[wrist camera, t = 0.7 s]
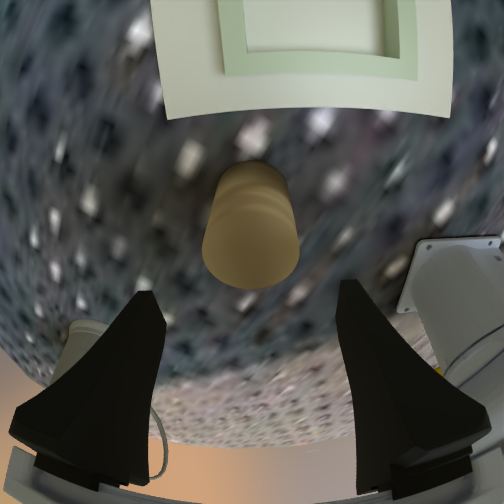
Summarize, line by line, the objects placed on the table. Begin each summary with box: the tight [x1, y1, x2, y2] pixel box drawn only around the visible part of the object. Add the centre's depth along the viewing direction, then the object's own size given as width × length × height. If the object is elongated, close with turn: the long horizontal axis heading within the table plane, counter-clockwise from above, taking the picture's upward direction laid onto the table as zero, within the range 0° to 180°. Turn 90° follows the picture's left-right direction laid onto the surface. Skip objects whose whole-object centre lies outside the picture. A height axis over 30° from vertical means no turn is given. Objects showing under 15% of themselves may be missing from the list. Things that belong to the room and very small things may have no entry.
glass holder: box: [31, 319, 168, 480], centre depth 24 cm, size 9×14×15 cm, turn 57°
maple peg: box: [202, 161, 300, 289], centre depth 16 cm, size 4×4×6 cm
